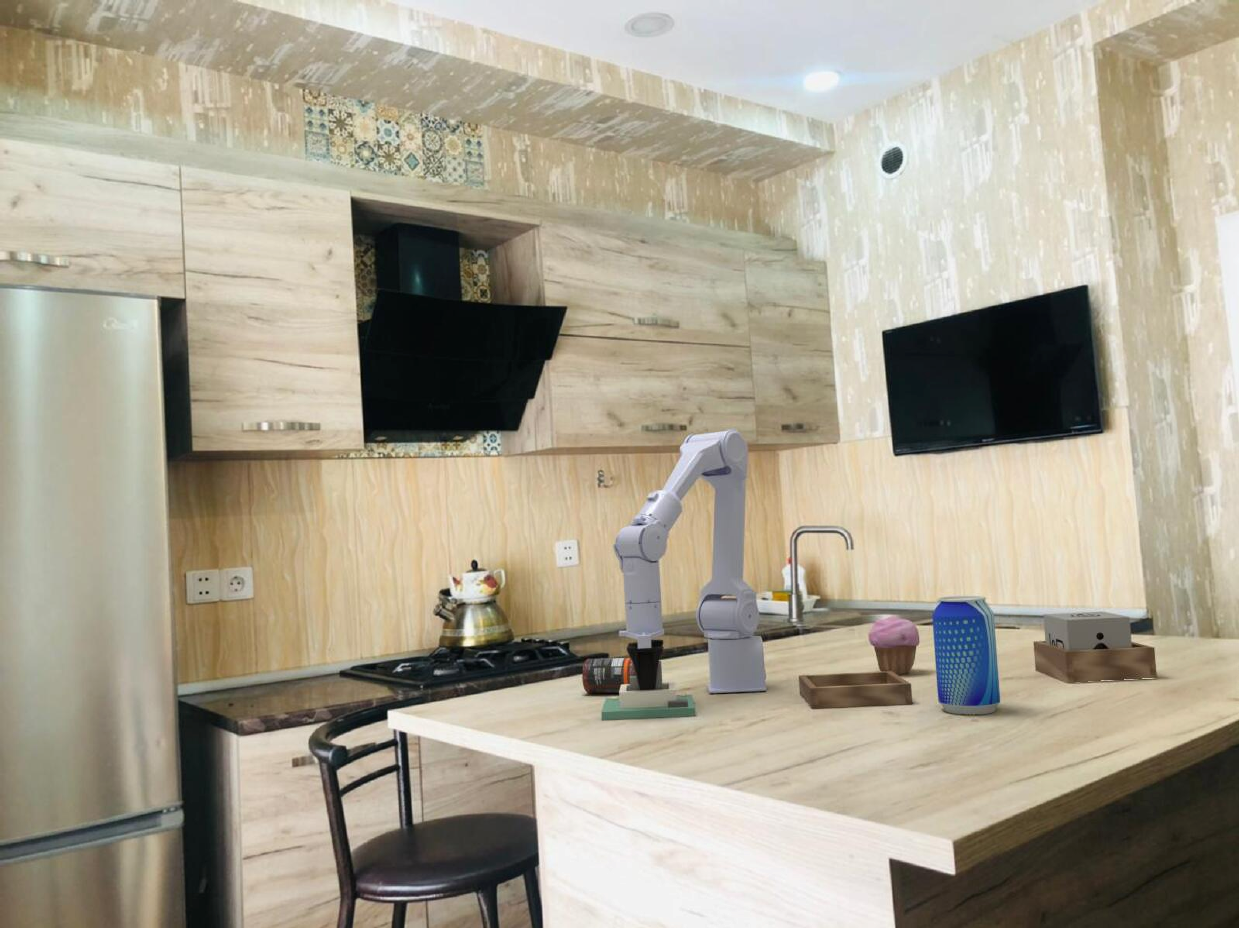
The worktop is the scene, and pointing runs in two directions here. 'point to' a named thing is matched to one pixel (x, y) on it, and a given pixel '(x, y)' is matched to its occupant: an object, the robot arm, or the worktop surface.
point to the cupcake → (894, 644)
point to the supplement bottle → (607, 674)
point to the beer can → (966, 655)
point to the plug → (635, 686)
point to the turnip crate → (855, 689)
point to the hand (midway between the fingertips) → (647, 689)
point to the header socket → (647, 696)
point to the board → (649, 709)
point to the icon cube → (1087, 631)
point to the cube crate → (1095, 663)
